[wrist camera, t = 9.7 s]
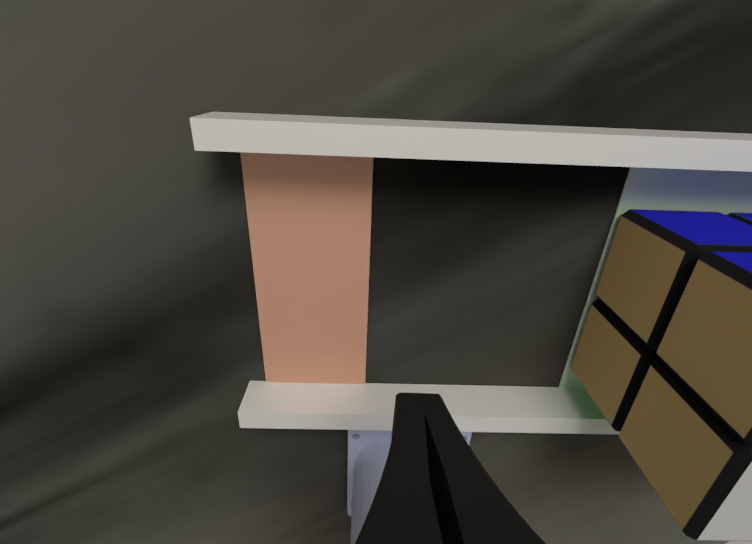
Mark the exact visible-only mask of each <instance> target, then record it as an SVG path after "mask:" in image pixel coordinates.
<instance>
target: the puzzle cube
mask: <svg viewBox="0 0 752 544" xmlns="http://www.w3.org/2000/svg"><path fill="white" fill-rule="evenodd" d="M595 294H596V295H597V297H598V298H599V299H598V300H596V301H594V302H593V303H592V304H591V307H590V310H589V313H588V316H587V319H586V322H585V325H584V329H583V332H582V335H581V338H580V341H579V344H578V347H577V350H576V353H575V356H574V359H573V362H572V365H571V368H572V370H573V371H574V373H575V374H576V376H577V377H578V379H579V380H580V381H581V383H582V384H583V386H584V387H585V389H586V390H587V392H588V393H589V395H590V396H591V398H592V399H593V400H594V402H595V403H596V405H597V406H598V408H599V409H600V411H601V412H602V414H603V415H604V417H605V418H606V419H607V421H608V422H609V424H610V425H611V427H612V428H613V429H614V430H615V431H620V434H619V436H618V437H619V438H620V440H621V441H622V442H623V444H624V445H625V447H626V448H627V450H628V451H629V453H630V454H631V456H632V457H633V459H634V460H635V462H636V463H637V465H638V466H639V468H640V469H641V471H642V472H643V474H644V475H645V477H646V478H647V480H648V481H649V483H650V484H651V485H652V487H653V488H654V490H655V491H656V493H657V494H658V496H659V497H660V499H661V500H662V502H663V503H664V505H665V506H666V508H667V509H668V511H669V512H670V514H671V515H672V517H673V518H674V520H675V521H676V523H677V524H678V525H679V527H680V528H681V530H682V531H683V532H684V533H685V534H686V535H687V536H688V537H690V538H693V539H695V540H716V541H752V213H732V212H731V213H729V214H727V215H724V214H722V213H719V212H701V211H669V210H636V209H629V210H628V211H626V212H625V213H624V214H622V215H621V217H620V220H619V223H618V226H617V229H616V232H615V235H614V238H613V241H612V244H611V247H610V250H609V253H608V256H607V259H606V263H605V266H604V269H603V272H602V275H601V278H600V281H599V284H598V287H597V290H596V293H595Z"/></svg>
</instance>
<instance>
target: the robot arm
mask: <svg viewBox="0 0 752 544" xmlns="http://www.w3.org/2000/svg"><path fill="white" fill-rule="evenodd" d="M355 434H357V435H355ZM471 435H472V432H460V430H459V429H458V427H457V425H456V423H455V422H454V420H453V418H452V416H451V414H450V413H449V411H448V409H447V407H446V405H445V403H444V401H443V399H442V397H441V396H440V395H439V394H433V393H402V392H400V393H398V394H397V395H396V399H395V408H394V417H393V427H392V431H389V430H348V472H347V514H348V515H349V516H351V537H350V544H546V543H545V542H544V541H543V540H542V539H541V538H540V537H539V536H538V535H537V534H536V533H535V532H534V531H533V530H532V528H531V527H530V526H529V525H528V524H527V523H526V522H525V520H524V519H523V518H522V517H521V516H520V515H519V513H518V512H517V511H516V510H515V509H514V507H513V506H512V505H511V504H510V502H509V501H508V500H507V499H506V497H505V496H504V495H503V494H502V492H501V491H500V490H499V488H498V487H497V486H496V484H495V483H494V482H493V480H492V479H491V478H490V476H489V475H488V473H487V472H486V471H485V469H484V468H483V466H482V465H481V463H480V462H479V460H478V459H477V457H476V456H475V454H474V453H473V451H472V450H471V448H470V446H469V444H470V440H471Z"/></svg>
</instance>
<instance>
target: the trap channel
mask: <svg viewBox="0 0 752 544" xmlns="http://www.w3.org/2000/svg"><path fill="white" fill-rule="evenodd" d="M190 124H191V130H192V136H193V142H194V148H195V151H221V152H240V155H241V164H242V173H243V182H244V191H245V199H246V208H247V217H248V226H249V235H250V244H251V253H252V261H253V270H254V279H255V288H256V297H257V306H258V315H259V323H260V332H261V341H262V350H263V359H264V368H265V377H266V381H250V382H249V384H248V387H247V390H246V392H245V395H244V397H243V400H242V402H241V405H240V408H239V410H238V418H239V424H240V428H273V429H331V430H389V431H392V427H393V417H394V408H395V399H396V395H397V394H398V393H400V392H402V393H433V394H439V395H440V396H441V397H442V399H443V401H444V403H445V405H446V407H447V409H448V411H449V413H450V414H451V416H452V418H453V420H454V422H455V423H456V425H457V427H458V429H459V430H460V432H505V433H563V434H620V431H615V430H614V429H613V428H612V427H611V425H610V424H609V422H608V421H607V419H606V418H605V417H604V415H603V414H602V412H601V411H600V409H599V408H598V406H597V405H596V403H595V402H594V400H593V399H592V398H591V396H590V395H589V393H588V392H587V390H586V389H585V387H584V386H583V384H582V383H581V381H580V380H579V379H578V377H577V376H576V374H575V373H574V371H573V370H572V368H571V365H572V362H573V359H574V356H575V353H576V350H577V347H578V344H579V341H580V338H581V335H582V332H583V329H584V325H585V322H586V319H587V316H588V313H589V310H590V307H591V304H592V303H593V302H594V301H596V300H598V299H599V298H598V297H597V295H596V294H595V293H596V290H597V287H598V284H599V281H600V278H601V275H602V272H603V269H604V266H605V263H606V259H607V256H608V253H609V250H610V247H611V244H612V241H613V238H614V235H615V232H616V229H617V226H618V223H619V220H620V217H621V215H622V214H624V213H625V212H626V211H628V210H629V209H636V210H669V211H701V212H719V213H722V214H724V215H727V214H729V213H731V212H732V213H752V134H743V133H719V132H695V131H670V130H646V129H622V128H598V127H573V126H549V125H525V124H501V123H476V122H452V121H428V120H403V119H379V118H355V117H331V116H306V115H282V114H258V113H234V112H210V113H206V114H202V115H198V116H194V117H190ZM373 157H378V158H404V159H430V160H456V161H482V162H508V163H535V164H561V165H587V166H613V167H630V170H629V173H628V176H627V179H626V182H625V185H624V188H623V191H622V194H621V197H620V200H619V203H618V206H617V209H616V212H615V215H614V218H613V221H612V224H611V227H610V230H609V234H608V237H607V240H606V243H605V246H604V249H603V252H602V255H601V258H600V261H599V264H598V267H597V270H596V273H595V276H594V279H593V282H592V285H591V288H590V291H589V294H588V298H587V301H586V304H585V307H584V310H583V313H582V316H581V319H580V322H579V325H578V328H577V331H576V334H575V337H574V340H573V343H572V346H571V349H570V352H569V355H568V358H567V362H566V365H565V368H564V371H563V374H562V377H561V380H560V383H559V386H558V387H528V386H480V385H432V384H384V383H365V375H366V347H367V319H368V291H369V264H370V236H371V208H372V180H373Z"/></svg>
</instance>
